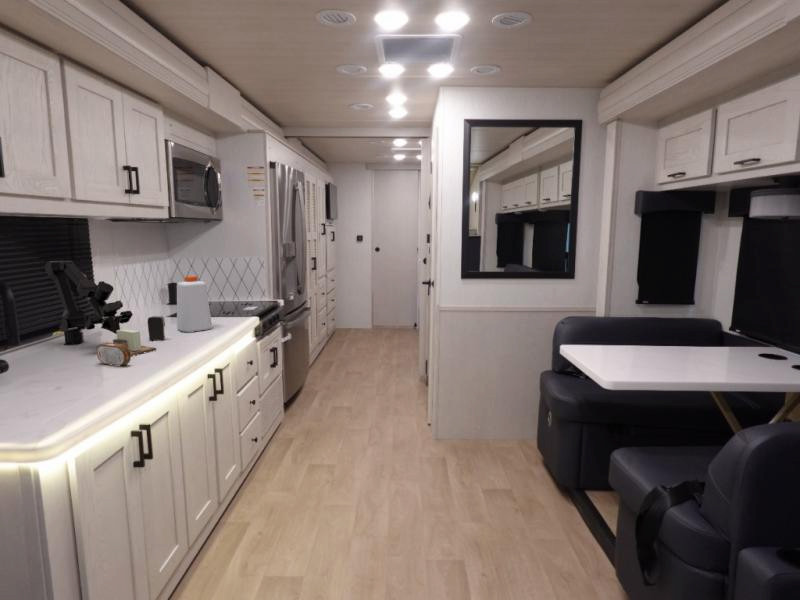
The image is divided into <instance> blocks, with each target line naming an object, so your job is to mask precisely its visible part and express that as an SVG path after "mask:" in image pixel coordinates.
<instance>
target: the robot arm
mask: <svg viewBox="0 0 800 600" xmlns="http://www.w3.org/2000/svg"><path fill="white" fill-rule="evenodd" d="M44 270H45V272H46V273H47V276H48V277H49V278H50V279H51V280H52V281H54V285H55V287H56V290H57V292H58V295H59V296H58V297H59V298H60V302H61V305H62V308H63V313H62V315H61V319H62V321H61V323H60V325H59V327H58V328H59V331H60V332H61V333H64V343H63V345H64V346H65V345H66V346H67V345H68V344H70V345H80V344H82V343H83V342H84V341H85V337H84V332H83V330H85V329H86V330H88V331H89V330H94V329H95V328H96V325H100V324H101V326H100V328H101V329H104V330H107V331H109V332H111V333H112V334H116V335H117V332H116V330H121V328H120V324H122V325H123V324H126V323H129V322H130V321H131V318H132V317H133V315H134V314H133V312H132V311H131V310H124V311H121V312H120V313H119V314H118V310H121V309H122V308H123V307H124V304H123V302H122V301H121V300H116V301H114V302H113V301H112V302H107V300H109V299H110V297H111V295H112V293H113V291H114V286H113V285H111V284H110V283H108V282H105V281H98V283H97V284H96V282H95V281H92V280H89V279H88V278H87V277H86V276H85V275H84V274H83V272H82V271H81V270H80V269H79V268H78V267H77V266H76V263H75V262H74V261H73V260H53V261H52V260H51V261H47V262H46V264H45V265H44ZM68 278H69V279H70V280H71V281H72V282H73V283H74V284H75V286H76V287H77V289H76V291H77V294H79V297H80V298H82V299H83V300H84V299H85V300H86V299H89V300H88V303H87V304H86V305H87V307H88V308H92V310H93V311H94V316H88V318H87V319H86V315H85V313H84V311H83V309H79V308H78V307H77V305H76V302H75V299H74V295H73V293H72V290H71V287H70V284H69V281H68ZM117 314H118V315H117ZM68 346H69V345H68Z"/></svg>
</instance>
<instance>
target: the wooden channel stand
mask: <svg viewBox="0 0 800 600" xmlns="http://www.w3.org/2000/svg"><path fill="white" fill-rule="evenodd" d="M112 343H115V344H123V345H125V346H126V347H127V341H126V340H119V339H117V338H115V339H112ZM153 350H155V351H156V350H157V347H153V346H146V345H141V350H138V351H131V350H129V351H130V354H131V357H134V356H133V355H135V356H137V355H136V354H139V355H141V354H140V353H143V354H145V353H144V352H147V353H150V352H149V351H151V352H154V351H153Z"/></svg>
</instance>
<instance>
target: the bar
mask: <svg viewBox="0 0 800 600" xmlns="http://www.w3.org/2000/svg"><path fill="white" fill-rule="evenodd" d="M116 332H117V334H116V339H119V340H126V341H127V348H128V349H129V350H131V351H138V350H141V346H142V342H141V331H140V330H132V329H125V328H122V329H121V328H120V330H116Z"/></svg>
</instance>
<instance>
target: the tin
mask: <svg viewBox="0 0 800 600" xmlns="http://www.w3.org/2000/svg"><path fill="white" fill-rule="evenodd" d="M96 355H97V359H98V360H99V361H100V363H102V364H103V365H107V364H112V365H111V366H115V365H123V366H124V365H125V364H126V365H128V364H129V363H130V361H131V358H132V356H131V354H130V351H129V349H128V348H127V347H126V346H125V345H123V344H115V343H113V342H104V343H102V344H100V345H98V346H97V348H96Z"/></svg>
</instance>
